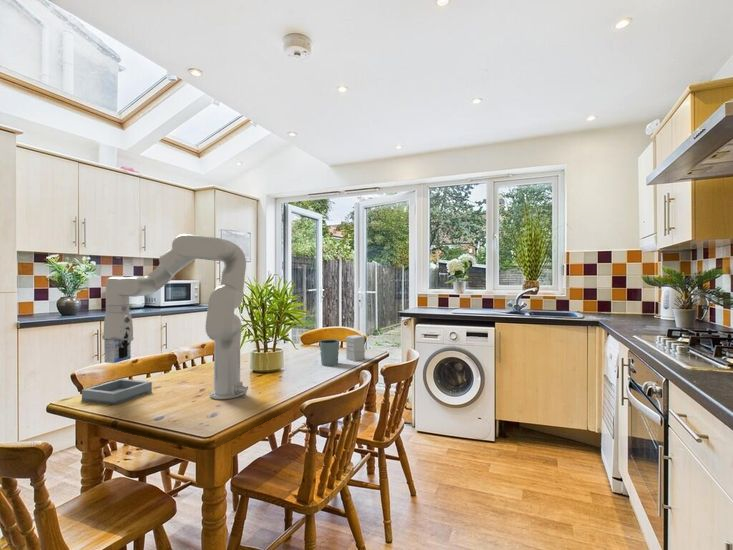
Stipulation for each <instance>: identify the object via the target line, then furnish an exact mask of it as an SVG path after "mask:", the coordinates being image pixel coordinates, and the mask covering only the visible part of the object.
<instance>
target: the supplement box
mask: <svg viewBox="0 0 733 550" xmlns="http://www.w3.org/2000/svg"><path fill="white" fill-rule="evenodd" d="M345 340H346V349H345V350H346V351H345V352H346V357H345V358H346V360H348V359H349V361H352V360H353V361H352V362H357V361H362V360H365V357H366V356H365V353H366V352H365V336H363V335H359V334H355V335H354V334H353V335H347V336H346V338H345Z"/></svg>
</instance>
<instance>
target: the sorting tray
mask: <svg viewBox="0 0 733 550" xmlns="http://www.w3.org/2000/svg"><path fill="white" fill-rule="evenodd" d="M152 384H153V382H152V381H145V380H136V379H127V378H119V379H116V380H112V381H108V382H105V383H100V384H97V385H93V386H91V387H87V388H84V389H81V401H82V402H88V401H89V403H96V404H104V405H111V406H116V405H118V404H122V403H125V402H127V401H129V400H133V399H135V398H139V397H141V396H145V395H148V394H150V393H152V392H153V390H152V389H153V388H152V387H153V385H152Z"/></svg>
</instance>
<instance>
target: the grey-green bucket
mask: <svg viewBox="0 0 733 550" xmlns="http://www.w3.org/2000/svg"><path fill="white" fill-rule="evenodd" d="M339 349H340V340H339V339H321V340H320V341H319V350H320V351H319V352H320V359H321V360H320V361H321V363H320V364H321V366H323V365H324V367H334V366H333V365H335V366H338V365H339V353H340V352H339ZM337 364H338V365H337Z"/></svg>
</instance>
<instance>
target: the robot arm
mask: <svg viewBox="0 0 733 550" xmlns="http://www.w3.org/2000/svg"><path fill="white" fill-rule="evenodd" d="M198 259H199V260H206V261H213V262H214V261H215V262H223V268H222V271H221V279H220V280H221V281H220V284H219V285H220V286H217V287H216V288H214V289H213V290H212V291H211V293H210V295H209V298H208V301H207V311H206V317H205V318H206V319H205V333H206V335H207V337H208V339H210V340H211V341H214V346H213V384H214V385H213V390H211V392H209V397H210V398H212V399H214V400H231V399H235V398H238V397H242V395H244V394H246V393H247V392H248V390H249V386H247V385H243V381H241V338H242V321H241V318H240V317H239V316H238V315H237V314H235V309H238V308H239V307H240V306H241V305H242V302H243V296H244V287H245V279H246V277H245V276H246V270H247V259H246V255H245V252H244V251H243V250H242V248H241V247H240V246H239V245H237V244H236V243H234V242H233V241H230V240H227V239H225V238H220V237H215V236H214V237H213V236H203V235H196V234H195V235H194V234H189V233H182V234H179V235H177V236H176V237H175V238H174V239H173V241H172V243H171V248H169V250H167V251H165V252H164V253H162V255H160V256H159V258H158V262H159V264H158V266H156V268H155V269H154V270H152V271H150V273H148V274H147V275H145V276H130V277H122V276H121V277H116V276H115V277H113V276H112V277H107V279H106V280H105V315H104V321H103V334H102V337H101V339H102V340H103V341H104V340H108V339H118V340H119V343H120V347H121V348H119V358H124V357H127V356H128V346H129V344H130V342H131V343H132V341H134V327H133V324H134V323H133V319H132V318H133V317H132V314H131V312H130V297H132V298H135V297H136V298H137V297H144V296H150V295H152V294H154V293H156V292H157V291H158V290H160V289H161V288H163V287H165V286H166V285H167V284H168V283H170V281H171V280H172V279H173V278H174V277H175V275H176V274H177V273H179V272H180V271H181V270H183V269H184V268H185V267H187V266H188V265H190V264H191V263H192V262H194V261H195V260H198ZM123 341H124V343H123Z"/></svg>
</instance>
